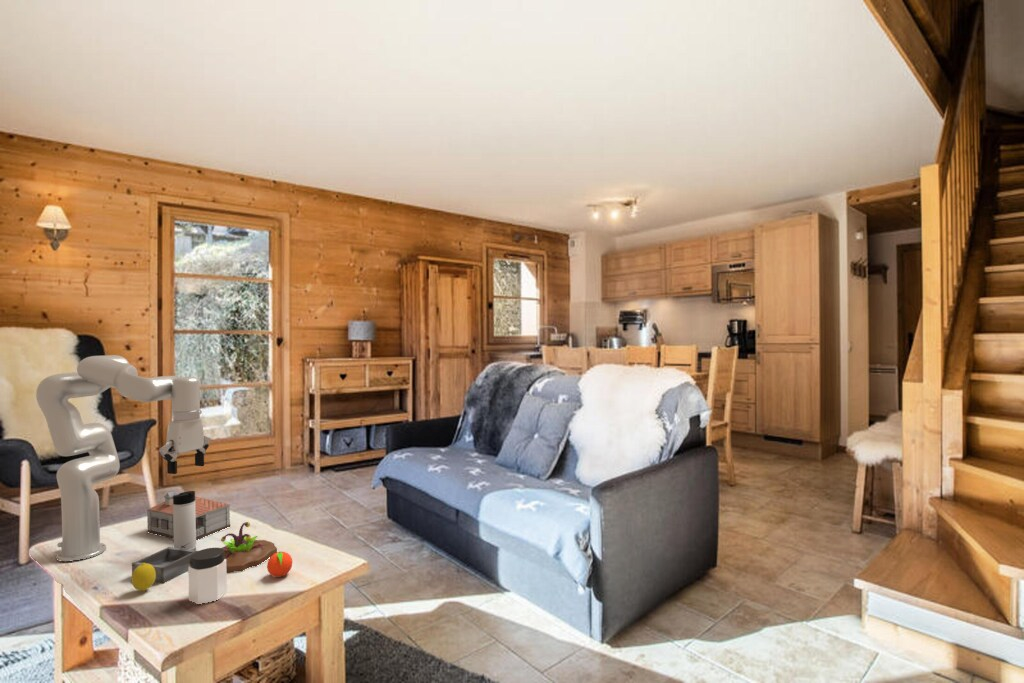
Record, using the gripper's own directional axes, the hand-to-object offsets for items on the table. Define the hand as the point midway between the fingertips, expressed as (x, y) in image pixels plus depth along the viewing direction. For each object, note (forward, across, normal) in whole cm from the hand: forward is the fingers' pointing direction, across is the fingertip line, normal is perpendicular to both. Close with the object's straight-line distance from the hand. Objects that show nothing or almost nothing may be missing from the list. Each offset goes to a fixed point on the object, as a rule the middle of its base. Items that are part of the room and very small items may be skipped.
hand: (186, 469), depth 164 cm
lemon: (+29, +19, +6) cm, 35 cm away
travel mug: (+29, -5, -6) cm, 30 cm away
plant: (+30, -6, +16) cm, 34 cm away
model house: (+30, -20, -22) cm, 42 cm away
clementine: (+29, +1, +37) cm, 47 cm away
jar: (+29, +16, +26) cm, 42 cm away
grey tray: (+29, +8, +1) cm, 30 cm away
